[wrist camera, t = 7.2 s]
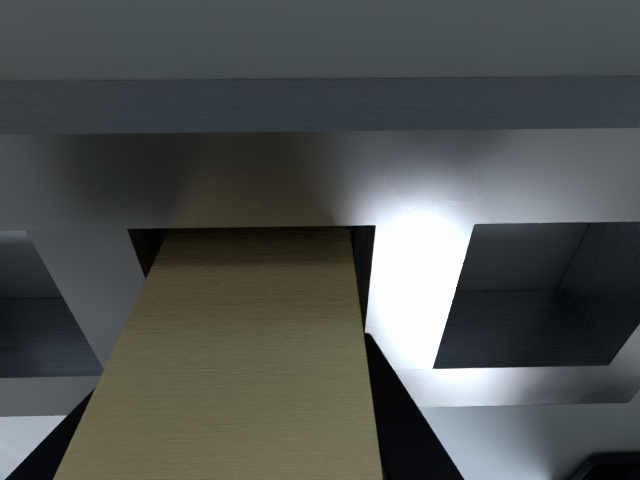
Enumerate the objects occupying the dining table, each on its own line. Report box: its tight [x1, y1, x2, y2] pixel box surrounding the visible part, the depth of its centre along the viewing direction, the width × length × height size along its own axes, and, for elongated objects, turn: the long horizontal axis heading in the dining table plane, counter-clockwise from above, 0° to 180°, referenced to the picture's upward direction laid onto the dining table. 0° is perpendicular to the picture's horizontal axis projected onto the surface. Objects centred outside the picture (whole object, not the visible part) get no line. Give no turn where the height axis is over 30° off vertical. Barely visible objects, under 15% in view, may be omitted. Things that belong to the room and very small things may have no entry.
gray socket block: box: [0, 76, 640, 417], centre depth 11 cm, size 22×9×3 cm, turn 90°
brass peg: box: [53, 226, 383, 480], centre depth 8 cm, size 4×4×9 cm
